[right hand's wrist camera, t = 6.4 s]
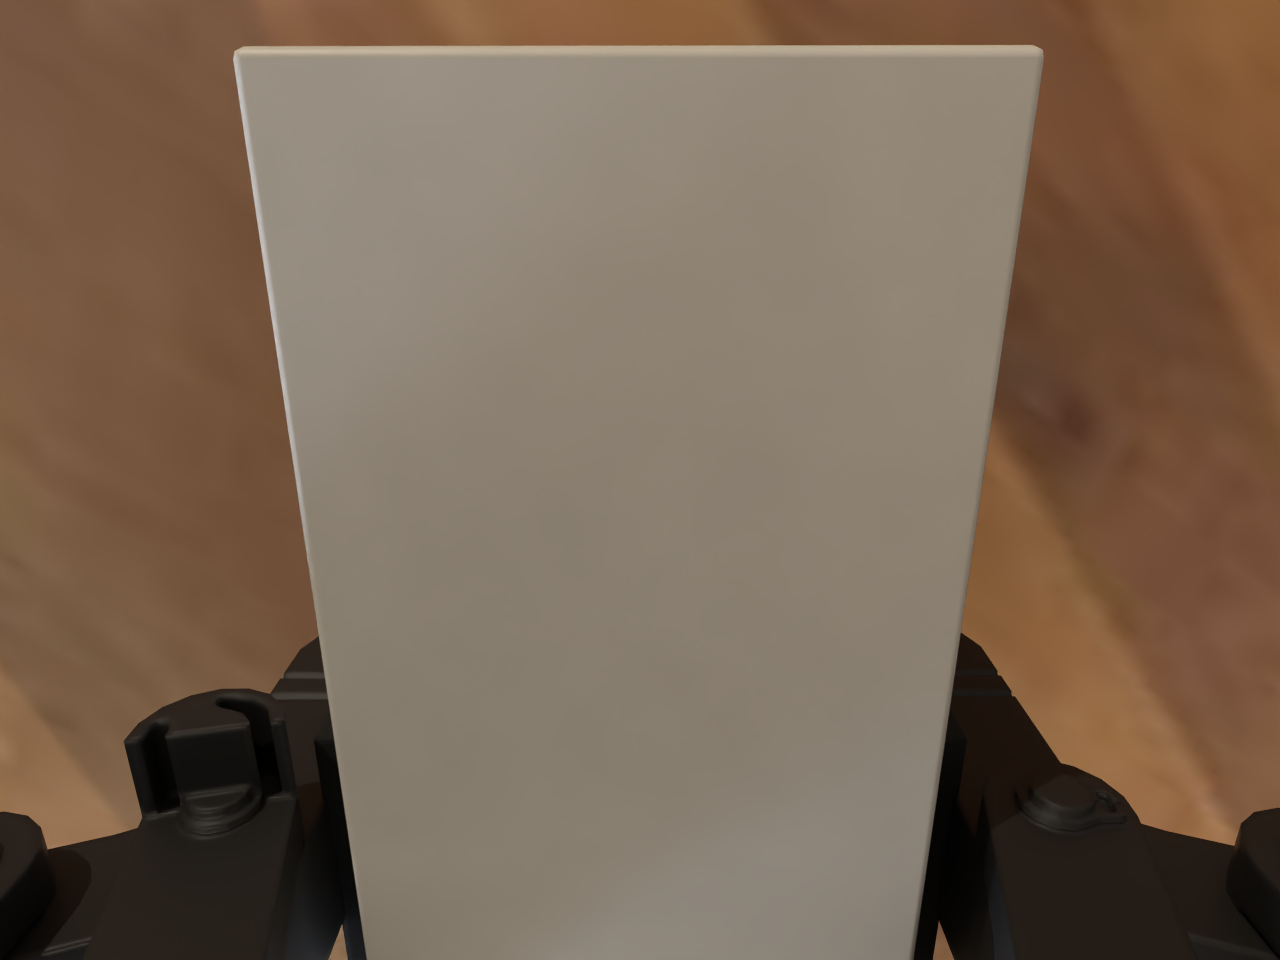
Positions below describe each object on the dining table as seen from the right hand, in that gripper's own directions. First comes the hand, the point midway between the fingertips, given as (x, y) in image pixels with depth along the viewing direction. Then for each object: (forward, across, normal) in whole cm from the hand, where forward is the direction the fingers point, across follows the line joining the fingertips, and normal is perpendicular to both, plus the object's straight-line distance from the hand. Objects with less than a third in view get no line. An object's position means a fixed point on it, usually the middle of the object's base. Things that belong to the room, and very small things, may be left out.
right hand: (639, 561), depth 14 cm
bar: (+1, 0, -23) cm, 23 cm away
